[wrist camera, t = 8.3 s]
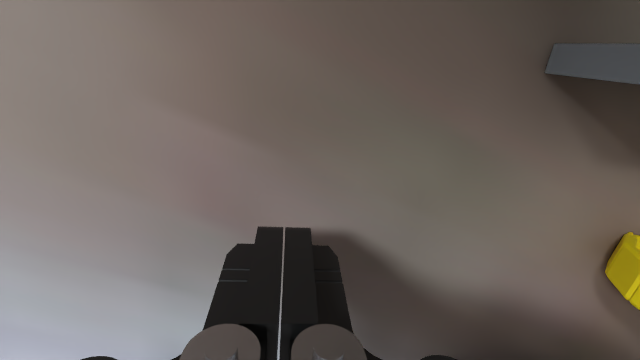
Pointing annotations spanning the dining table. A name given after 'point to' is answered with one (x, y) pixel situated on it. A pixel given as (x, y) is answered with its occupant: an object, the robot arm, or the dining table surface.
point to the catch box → (596, 61)
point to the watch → (626, 268)
